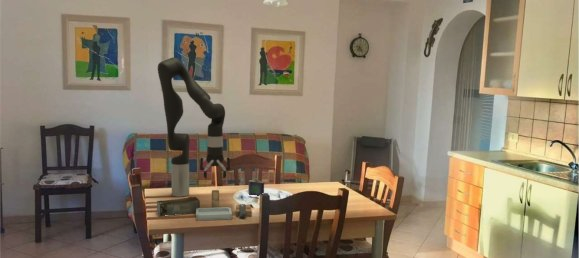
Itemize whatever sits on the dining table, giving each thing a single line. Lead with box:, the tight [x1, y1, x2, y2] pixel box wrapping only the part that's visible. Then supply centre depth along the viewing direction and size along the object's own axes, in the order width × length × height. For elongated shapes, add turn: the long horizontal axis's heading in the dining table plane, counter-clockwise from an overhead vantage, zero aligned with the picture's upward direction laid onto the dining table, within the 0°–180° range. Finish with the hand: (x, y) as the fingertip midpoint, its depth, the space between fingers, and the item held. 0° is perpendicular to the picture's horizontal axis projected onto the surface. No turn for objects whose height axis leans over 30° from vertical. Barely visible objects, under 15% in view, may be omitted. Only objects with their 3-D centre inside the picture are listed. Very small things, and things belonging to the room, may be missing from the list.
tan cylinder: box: [211, 189, 220, 208], centre depth 229 cm, size 4×4×9 cm
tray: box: [195, 206, 233, 221], centre depth 218 cm, size 11×16×2 cm
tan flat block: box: [235, 204, 252, 218], centre depth 223 cm, size 10×7×3 cm
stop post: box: [238, 203, 247, 220], centre depth 216 cm, size 3×3×6 cm
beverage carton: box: [156, 196, 201, 217], centre depth 222 cm, size 8×19×7 cm, turn 116°
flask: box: [247, 177, 265, 196], centre depth 251 cm, size 9×3×11 cm, turn 65°
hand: (215, 178), depth 228 cm, fingers open, 8 cm apart
